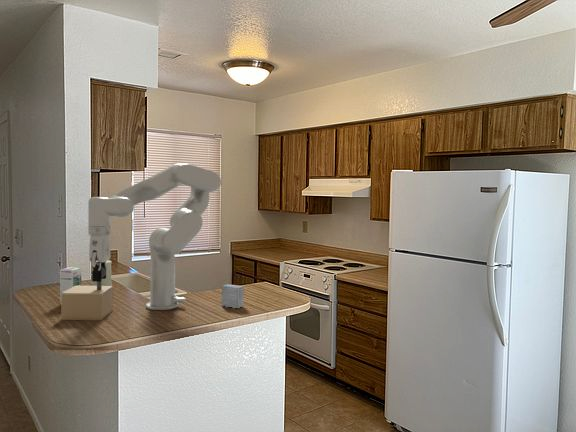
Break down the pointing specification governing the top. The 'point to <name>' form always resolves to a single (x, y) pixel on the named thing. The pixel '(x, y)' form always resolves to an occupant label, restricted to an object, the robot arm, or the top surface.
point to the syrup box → (69, 278)
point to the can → (108, 275)
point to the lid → (89, 288)
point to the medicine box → (232, 296)
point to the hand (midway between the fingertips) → (99, 279)
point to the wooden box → (86, 306)
